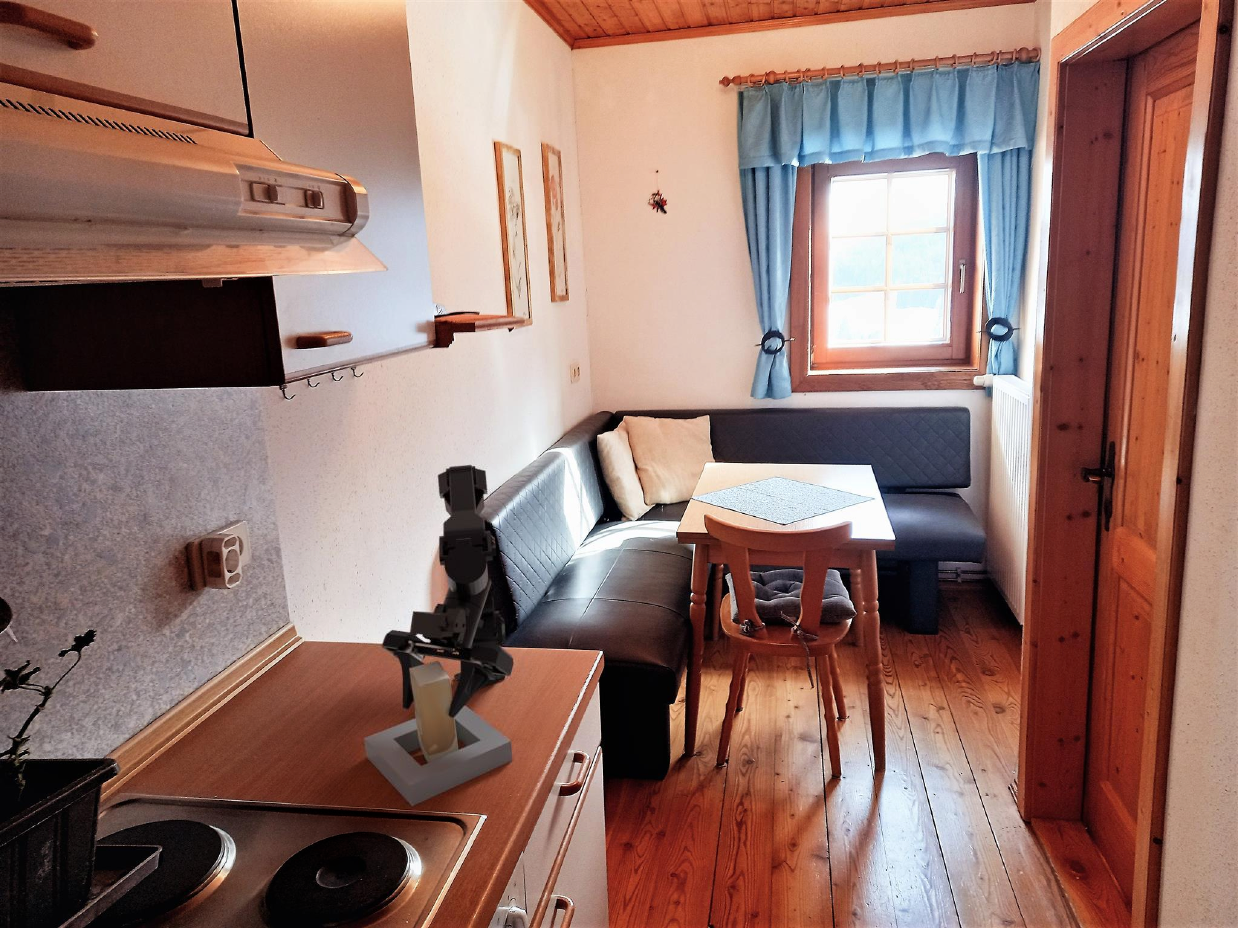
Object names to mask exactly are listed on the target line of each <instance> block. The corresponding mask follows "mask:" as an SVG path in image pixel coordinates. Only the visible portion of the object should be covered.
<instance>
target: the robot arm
mask: <svg viewBox="0 0 1238 928" xmlns="http://www.w3.org/2000/svg"><path fill="white" fill-rule="evenodd" d="M486 473H487V472H486V470H485V469H484V470H483V469H481V468H478V467H477V468H476V466H475V465H472V464H467V465H466V464H465V465H455V466H449V467H448V468H445V471H444V472H441V473H439V474H438V475H437V480H438V481H437V482H438V484H437V485H438V495H439V498H440V499H443V500H444V507H445V511H446V513H447V514H448V515H449V516H450V517H448V518H447V519H446V520H445V521H444V522H443V525H442V526H443V527H442V530H443V535H439V536H438V544H439V545H438V555H439V556H438V559H439V565H440V566H443V567H444V572H445V576H446V580H447V584H448V589H447V592H446V593H445V596H444V597H445V598H444V601H443V603H437V604H436V605H435V607H434V609H433V612H432V611H416V610H414V611H412V614H411V615H412V616H411V621H410V622H411V623H410V629H409V631H403V630H402V631H401V630H396V629H391V630H390V631H388V632H387V633H386V634H385V635H384V637H383V640H382V643H381V646H380V647H381V648H383V649H384V650H385V651H387V652H388V653H390V654H392V655H393V657H395V658H396V659H398V662H399V664H400V665H401V666H400V667H401V674H402V708H403V709H405V710H409V709H410V708H411V706H412V704H413V703H414V700H413V692H412V684H411V677H410V670H409V669H410V668H413V667H416V666H420V665H423V664H425V663H424V662H423V660H424V659H425V658H426V657H432V658H439V659H440V658H441V659H447V660H453V661H459V662H460V672H458V673H455V674H454V675H453V678H454V680H456V681H458V682H457V685H456V688H455V690H454V694H453V695H452V702H451V705H450V710H449V716H450V717H451V718H454V717H455V716H456V715H457V714H458V713H459V711H460V710H461V709H462V708H463V707H464V706H466V704H467V703H468V702H469V701H470V700H471V698H473V697H474V695H476V694H477V692H479V690H480V689H482V688H484V687H486V686H489V685H491V684H494V683H496V682H500V681H501V680H504V679H506V677H511V675H512V671H513V668H514V665H515V664H514V657H513V656H512V654H511V653H509V652H508V651H507V650H506V649H505V648H503V644H504V643H506V642H507V639H506V625H505V619H504V617H502V616H501V614H500V611H499V610H497V611H495V599H494V597H493V596H492V593H491V592H490V588H491V586H492V580H491V577H490V575H489V573H488V561H493V559H494V558H493V557H494V556H497V548H496V540H495V539H496V538H495V536H493V535H492V533H491V531H490V530H487V531H486V525H485V524H486V523H485V518H484V517H482V516H481V513H482V512H483V510H484V509H485V505H486V504H485V496H484V495H488V483H487V474H486ZM418 635H422V636H421V637H423V638H424V639H425V640H429V641H424V640H423V639H422V638H420V637H418Z"/></svg>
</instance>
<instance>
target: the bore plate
mask: <svg viewBox="0 0 1238 928" xmlns="http://www.w3.org/2000/svg"><path fill="white" fill-rule="evenodd" d="M454 718H455V727H456V735H457V740H459V741H460V742H462V744H464V745H465V747H462V748H461V749H458V751H455V752H453V753H451V754H448V755H446V756H444V757H441V758H439V759H437V760H434V761H432V762H430V763H428V762H427V763H425V764H423V765H421V764H420V763H419V762H418V761H416V760H415V759H414V757H412V756H411V754H409V753H410V752H413V751H415V750H417V749H421V748H420V745H419V739H418V731H417V723H416V717H415V718H412V719H409V720H407V721H405V722H401V723H400V724H397V725H395V726H392V727H390V728H387V729H385V730H382V731H379V732H376V733H374V734H371V735H368V736H366V737H364V738H363V739H364V745H365V746H364V749H365V753H366V758H367V759H368V761H370V762H371V764H373V766H374V767H376V769H377V770H378V771H379V772H380V773H381V774H382V775H383V776H384V778H385V779H387V781H388V782H389V783H390V784H391V785H392V786H393V787H394V789H396V791H397V792H399V794H400V795H401V796H402V797H403V798H404V799H405V800H406V802H407V803H409V804H410V806H411V807H414V806H416V805H418V804H420V803H423V802H425V801H427V800H428V799H431V798H434V797H435V796H438V795H439V794H442V793H445V792H447V791H449V790H450V789H453V788H456V787H457V786H460V785H462V784H464V783H466V782H469V781H471V780H472V779H475V778H477V777H480V776H481V775H484V774H486V773H488V772H491V771H493V770H495V769H496V768H499V767H501V766H503V765H505V764H508V763H510V762H512V761H513V760H514V759H513V749H512V740H510V739H509V738H508V737H506V736H505V735H504V734H502V733H501V732H500V731H498V729H496V728H495V727H494V726H492V725H491V724H490V723H488V722H487V721H486V720H484V718H482V717H481V716H479V714H477V713H476V712H474V711H473V710H472V709H471V708H469V707H468V706H467V705H465V706H464V707H463V708H462V709H461V710H460V711H459V713H458V714H457V715H456V716H455V717H454Z"/></svg>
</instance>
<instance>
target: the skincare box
mask: <svg viewBox="0 0 1238 928" xmlns="http://www.w3.org/2000/svg"><path fill="white" fill-rule="evenodd" d="M409 670H410V677H411V684H412V692H413V700H414V701H413V706H414V715H415V718H416V723H417V731H418V739H419V745H420V748H419V749H420V750H421V753H422V754H423V756H424V758H425V760H426V762H427V763H430V762H432V761H434V760H437V759H439V758H441V757H444V756H446V755H448V754H451V753H453V752H455V751H458V750H459V745H458V738H457V735H456V727H455V718H451V717H450V716H449V710H450V705H451V702H452V699H453V693H452V685H451V678H450V676H449V674H448V673H447V671H446V670H445V668H444V667H443V665H442V663H441V662H440V660H435V661H431V662H428V663H424V664H423V665H420V666H416V667H413V668H410V669H409Z"/></svg>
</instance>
